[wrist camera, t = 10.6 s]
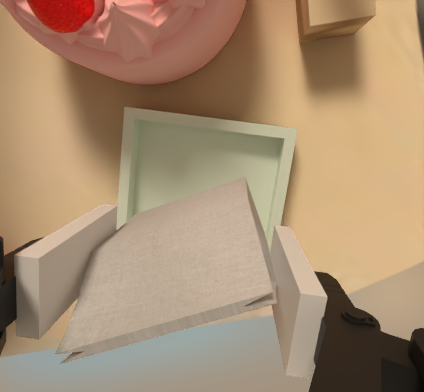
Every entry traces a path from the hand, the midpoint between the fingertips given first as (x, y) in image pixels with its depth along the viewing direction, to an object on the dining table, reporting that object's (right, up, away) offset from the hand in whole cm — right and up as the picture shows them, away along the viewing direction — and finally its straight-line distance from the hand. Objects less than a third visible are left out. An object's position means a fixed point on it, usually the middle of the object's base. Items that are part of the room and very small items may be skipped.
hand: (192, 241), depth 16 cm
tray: (0, +3, +18) cm, 18 cm away
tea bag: (0, +1, +3) cm, 3 cm away
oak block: (+11, +19, +14) cm, 26 cm away
